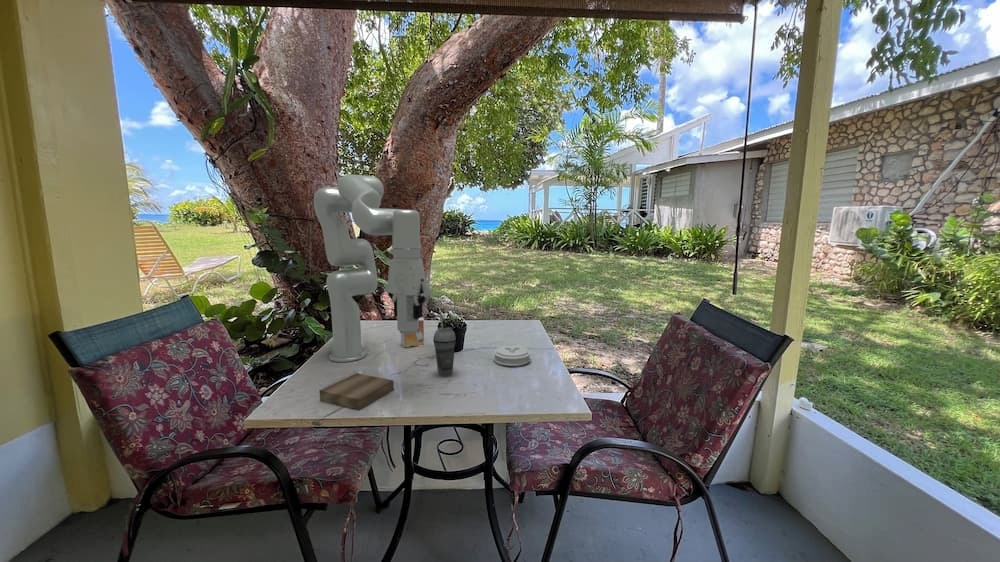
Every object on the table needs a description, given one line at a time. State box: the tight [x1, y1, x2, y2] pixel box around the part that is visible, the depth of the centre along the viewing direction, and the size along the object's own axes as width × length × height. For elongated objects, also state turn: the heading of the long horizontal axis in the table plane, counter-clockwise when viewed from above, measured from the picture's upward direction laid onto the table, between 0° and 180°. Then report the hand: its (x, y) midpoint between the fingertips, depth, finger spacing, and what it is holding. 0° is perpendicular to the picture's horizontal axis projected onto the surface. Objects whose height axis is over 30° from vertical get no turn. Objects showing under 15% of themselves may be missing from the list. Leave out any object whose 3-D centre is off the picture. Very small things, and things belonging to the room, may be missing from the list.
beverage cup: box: [432, 312, 457, 378], centre depth 132 cm, size 7×7×20 cm
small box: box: [400, 317, 425, 348], centre depth 163 cm, size 8×6×10 cm
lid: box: [493, 344, 531, 367], centre depth 145 cm, size 13×13×5 cm
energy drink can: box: [396, 286, 419, 335], centre depth 118 cm, size 6×6×15 cm
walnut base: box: [319, 372, 395, 411], centre depth 117 cm, size 14×14×3 cm
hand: (408, 316), depth 119 cm, fingers closed on energy drink can, 6 cm apart
